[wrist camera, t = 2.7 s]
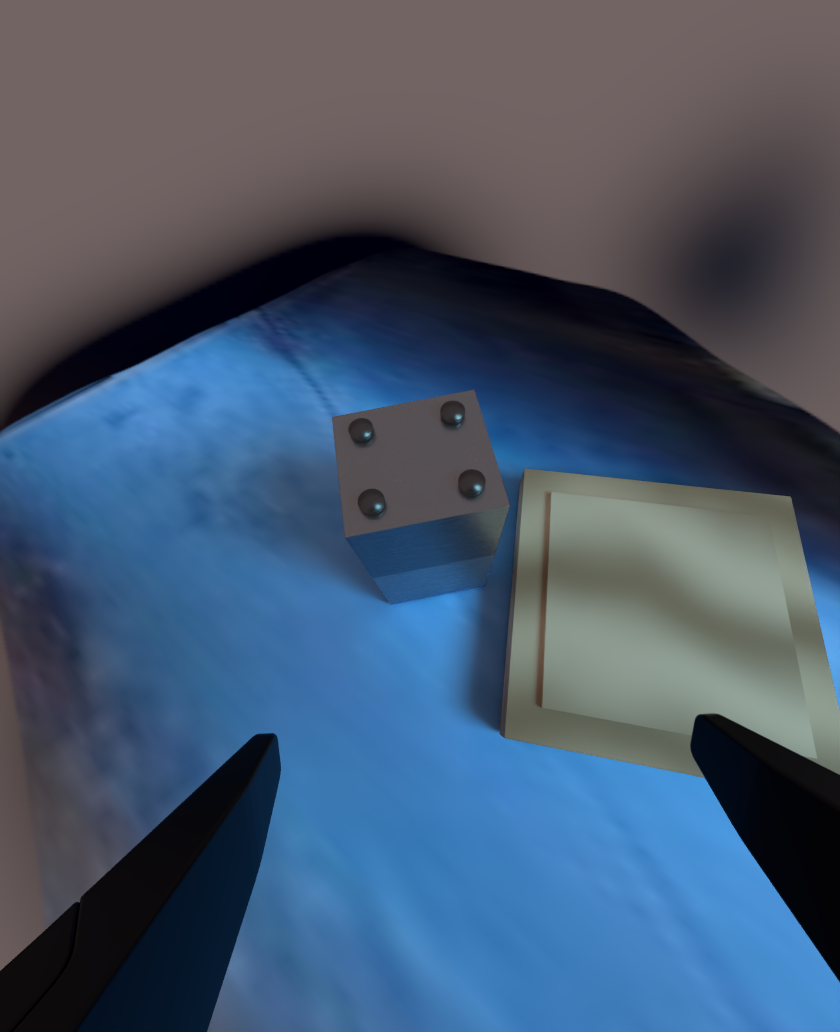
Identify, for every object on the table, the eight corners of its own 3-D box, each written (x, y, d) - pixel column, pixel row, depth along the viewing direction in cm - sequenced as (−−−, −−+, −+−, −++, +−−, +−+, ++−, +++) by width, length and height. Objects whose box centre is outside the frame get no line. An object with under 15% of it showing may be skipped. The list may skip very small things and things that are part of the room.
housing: (485, 585, 23) (510, 501, 13) (390, 604, 22) (342, 534, 13) (465, 508, 25) (474, 384, 15) (378, 525, 25) (329, 412, 15)
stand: (819, 797, 18) (869, 810, 15) (499, 734, 19) (505, 738, 17) (764, 512, 23) (795, 494, 21) (519, 485, 25) (525, 465, 23)
